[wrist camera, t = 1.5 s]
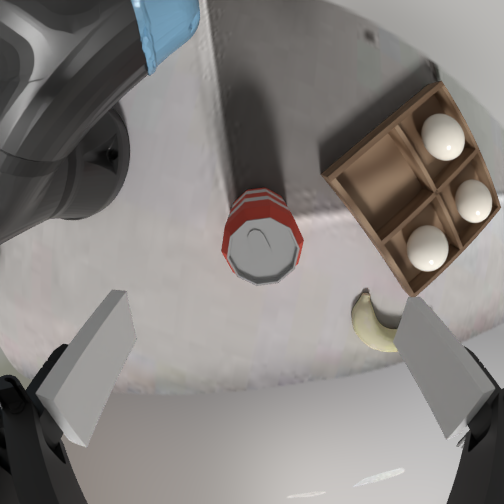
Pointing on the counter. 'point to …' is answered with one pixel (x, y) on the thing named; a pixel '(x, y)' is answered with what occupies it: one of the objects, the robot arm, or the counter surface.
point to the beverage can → (261, 238)
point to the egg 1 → (443, 137)
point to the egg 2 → (427, 248)
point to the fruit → (371, 326)
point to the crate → (410, 185)
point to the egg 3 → (473, 201)
